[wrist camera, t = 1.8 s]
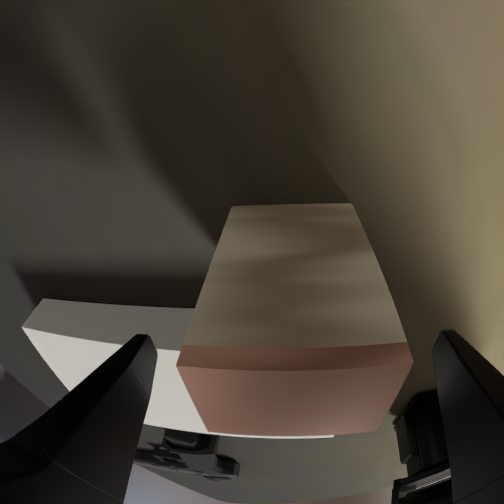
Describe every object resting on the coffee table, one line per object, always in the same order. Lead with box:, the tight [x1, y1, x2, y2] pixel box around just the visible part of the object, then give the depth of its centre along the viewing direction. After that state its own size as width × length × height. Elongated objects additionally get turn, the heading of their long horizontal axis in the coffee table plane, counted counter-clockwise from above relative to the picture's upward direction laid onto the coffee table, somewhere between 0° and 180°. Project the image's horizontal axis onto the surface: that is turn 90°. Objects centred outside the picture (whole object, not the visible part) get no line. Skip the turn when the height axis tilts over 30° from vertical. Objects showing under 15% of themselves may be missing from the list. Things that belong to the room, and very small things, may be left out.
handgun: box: [133, 428, 240, 481], centre depth 30 cm, size 3×21×15 cm
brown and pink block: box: [176, 203, 414, 436], centre depth 10 cm, size 5×4×8 cm
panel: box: [22, 298, 334, 438], centre depth 18 cm, size 20×10×3 cm, turn 95°
